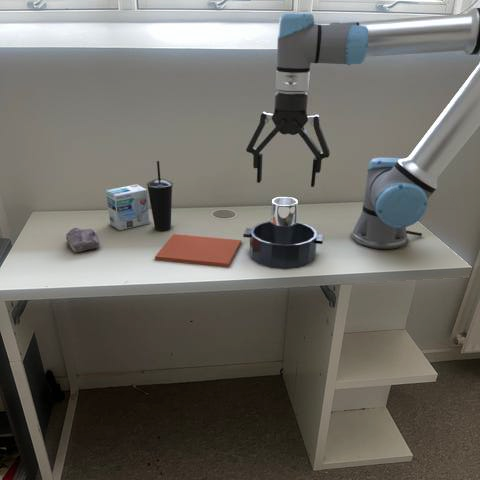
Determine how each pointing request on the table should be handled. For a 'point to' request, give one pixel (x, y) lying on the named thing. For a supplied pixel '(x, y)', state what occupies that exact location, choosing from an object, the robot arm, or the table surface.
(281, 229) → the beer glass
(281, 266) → the pot
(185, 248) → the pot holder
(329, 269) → the table surface
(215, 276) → the table surface
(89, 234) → the rock
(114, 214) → the light bulb box
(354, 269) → the table surface
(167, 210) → the drinking cup
